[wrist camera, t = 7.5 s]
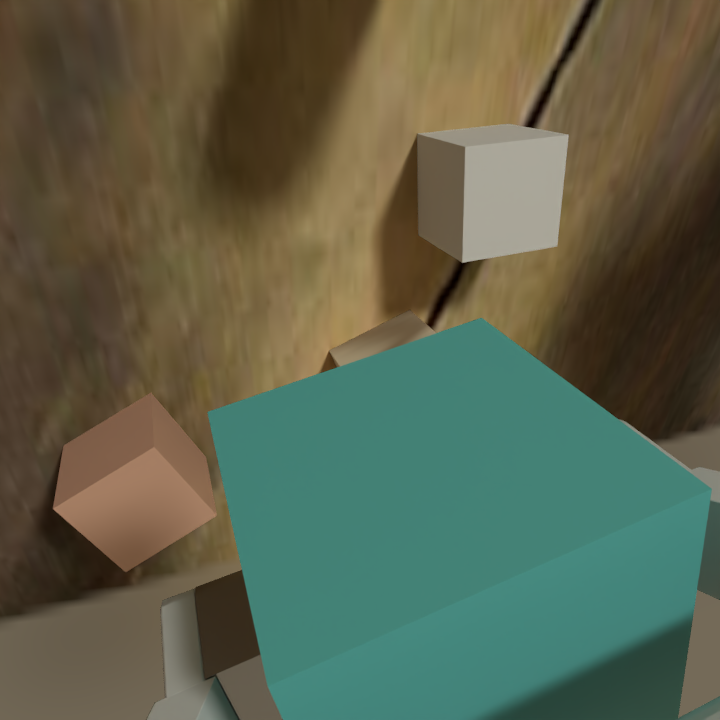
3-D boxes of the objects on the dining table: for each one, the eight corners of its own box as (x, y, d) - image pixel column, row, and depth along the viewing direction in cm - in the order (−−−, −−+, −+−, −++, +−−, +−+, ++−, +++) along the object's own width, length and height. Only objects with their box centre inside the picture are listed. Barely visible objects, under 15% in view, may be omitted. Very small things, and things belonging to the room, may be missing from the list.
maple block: (409, 308, 33) (450, 345, 29) (433, 378, 36) (474, 421, 31) (328, 350, 32) (358, 393, 28) (359, 417, 35) (391, 466, 31)
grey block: (507, 123, 30) (568, 134, 26) (501, 221, 33) (557, 246, 28) (416, 133, 29) (465, 147, 25) (417, 234, 31) (462, 262, 27)
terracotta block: (150, 392, 30) (154, 446, 26) (205, 456, 33) (216, 515, 29) (63, 444, 30) (52, 508, 26) (126, 505, 33) (125, 572, 28)
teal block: (481, 317, 11) (711, 489, 6) (500, 517, 13) (675, 735, 9) (208, 412, 10) (268, 687, 5) (283, 608, 12) (366, 900, 8)
